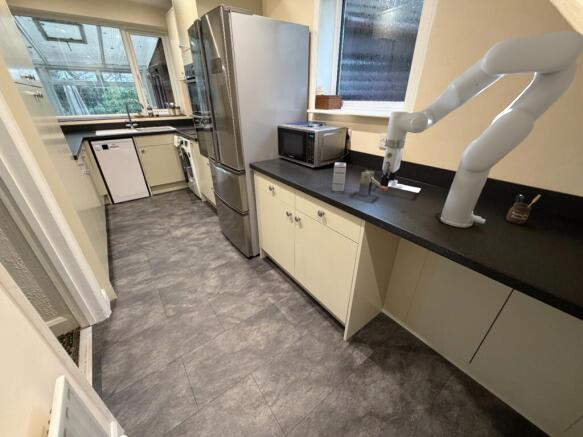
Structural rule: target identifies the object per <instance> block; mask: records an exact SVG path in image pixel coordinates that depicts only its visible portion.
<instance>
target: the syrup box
mask: <svg viewBox="0 0 583 437" xmlns="http://www.w3.org/2000/svg"><path fill="white" fill-rule="evenodd" d="M346 169H347V162H339V161H338V162H334V165H333V178H332V191H333V192H334V191H335V192H344V190H345V182H346V172H347V170H346Z"/></svg>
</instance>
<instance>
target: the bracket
mask: <svg viewBox="0 0 583 437" xmlns="http://www.w3.org/2000/svg"><path fill="white" fill-rule="evenodd" d="M366 172H369V173H366ZM375 173H376V171H373V170H368V169H365V170H364V171H362V172H361V175H360V183H359V188H358V194H357V195H358V196H359V197H363V198H368V196H371V195H372V190H373V185H374V182H373V181H372V180H371V177H372V178H374V179H375ZM371 175H372V176H371Z"/></svg>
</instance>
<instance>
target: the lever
mask: <svg viewBox="0 0 583 437" xmlns="http://www.w3.org/2000/svg"><path fill="white" fill-rule="evenodd" d="M366 173H369V172H366ZM371 176H372V175H371ZM371 180H372V181H373V184H375V185H376V186H378V187H379V188H381V193H385V192H386V191H388V190H389V186H388V187H385V186H381V185H380V184H381V182H379V181H378V180H376V179H375V177H374V178H372V177H371Z"/></svg>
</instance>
